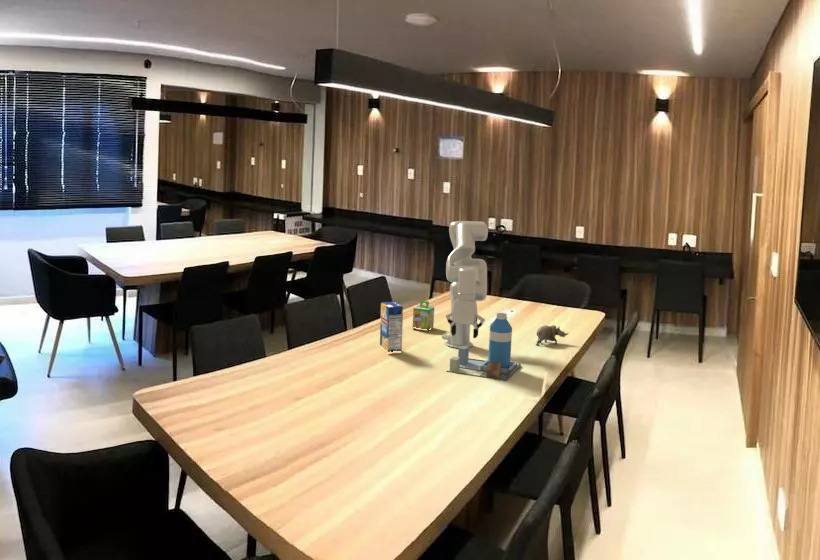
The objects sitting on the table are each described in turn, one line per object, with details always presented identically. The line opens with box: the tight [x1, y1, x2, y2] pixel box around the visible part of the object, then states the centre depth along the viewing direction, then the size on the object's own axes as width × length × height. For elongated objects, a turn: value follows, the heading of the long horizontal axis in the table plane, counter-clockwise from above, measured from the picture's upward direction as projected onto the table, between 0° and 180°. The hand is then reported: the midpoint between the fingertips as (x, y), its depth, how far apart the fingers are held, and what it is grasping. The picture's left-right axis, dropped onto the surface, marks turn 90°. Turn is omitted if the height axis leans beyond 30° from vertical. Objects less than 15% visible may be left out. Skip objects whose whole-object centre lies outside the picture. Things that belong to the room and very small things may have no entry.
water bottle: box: [487, 312, 513, 369], centre depth 286 cm, size 9×9×25 cm
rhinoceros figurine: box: [535, 324, 570, 347], centre depth 335 cm, size 8×14×15 cm
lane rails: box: [445, 357, 522, 382], centre depth 286 cm, size 26×23×2 cm
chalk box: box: [412, 300, 435, 330], centre depth 357 cm, size 9×9×15 cm
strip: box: [448, 356, 477, 375], centre depth 282 cm, size 10×6×6 cm, turn 67°
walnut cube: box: [486, 362, 501, 378], centre depth 277 cm, size 5×5×5 cm
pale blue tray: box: [457, 346, 518, 374], centre depth 289 cm, size 24×13×8 cm, turn 67°
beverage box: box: [379, 301, 404, 352], centre depth 313 cm, size 7×11×22 cm, turn 21°
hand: (464, 336), depth 291 cm, fingers open, 9 cm apart
